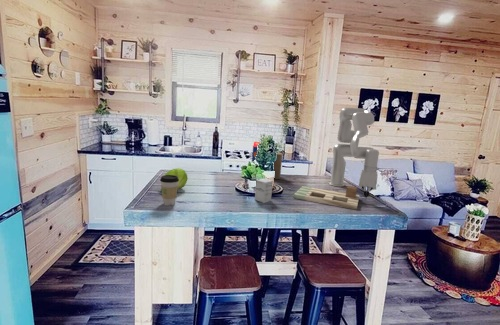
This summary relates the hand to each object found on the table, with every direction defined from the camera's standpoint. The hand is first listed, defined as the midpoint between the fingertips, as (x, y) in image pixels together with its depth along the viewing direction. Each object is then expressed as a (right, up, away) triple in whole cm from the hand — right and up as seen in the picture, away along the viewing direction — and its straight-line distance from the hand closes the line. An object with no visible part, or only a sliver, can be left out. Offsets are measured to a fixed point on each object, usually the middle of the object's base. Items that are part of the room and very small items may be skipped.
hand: (365, 197), depth 191 cm
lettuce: (-121, +5, 0) cm, 121 cm away
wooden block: (-55, +10, +50) cm, 75 cm away
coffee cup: (-118, -1, -26) cm, 121 cm away
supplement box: (-66, -1, -9) cm, 66 cm away
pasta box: (-69, +8, +34) cm, 77 cm away
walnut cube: (-8, 0, +4) cm, 9 cm away
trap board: (-24, -1, +4) cm, 24 cm away
